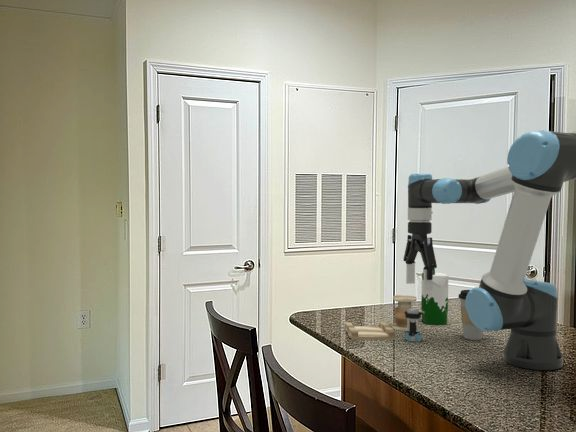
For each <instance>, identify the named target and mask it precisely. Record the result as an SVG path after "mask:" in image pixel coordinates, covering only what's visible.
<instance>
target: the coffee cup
mask: <svg viewBox="0 0 576 432" xmlns="http://www.w3.org/2000/svg"><path fill="white" fill-rule="evenodd" d="M470 290H471V289H462V290H461V291H460V293H459V294H458V297H457V298H459V299H460V300H459V301H460V315H461V316H460V317H461V323H462V334H463V338H464V339H467V340H472V341H480V340H483V335H484V331H483V330H481V329H479V328H477V327H476V326H475V325H474V324H473V323H472V321H471V320H470V318H469V315H468V313H467V310H466V296H467V294H468V292H469V291H470Z"/></svg>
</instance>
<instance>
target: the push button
mask: <svg viewBox="0 0 576 432" xmlns="http://www.w3.org/2000/svg"><path fill="white" fill-rule="evenodd" d="M405 317H406V318H407V330H406V331H404V340H405V342H418V343H419V342H420V343H421V341H423V340H424V341H426V339H427V338H426V337H427V336H426V335H421V331H420V328H419V326H420V319H422V312H421V311H420V309H419V308H415V307H411V308H409V309H407V311H405ZM409 319H410V329H409ZM416 325H417V330H416Z"/></svg>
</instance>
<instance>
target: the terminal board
mask: <svg viewBox="0 0 576 432" xmlns="http://www.w3.org/2000/svg"><path fill="white" fill-rule="evenodd" d="M344 330H345V332H346V333H347V335H348V336H349V338H350V339H351V340H352V341H396V337H397V336H396V330H395V329H393V328H391V325H389V324H388V323H387V322H386V321H379V322H378V325H375V326H374V325H371V326H370V325H369V326H368V325H364V326H363V325H361V326H360V325H359V326H356V325H355V326H354V325H353V323H352V322H351V321H345V322H344Z"/></svg>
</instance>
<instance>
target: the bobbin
mask: <svg viewBox="0 0 576 432" xmlns="http://www.w3.org/2000/svg"><path fill="white" fill-rule="evenodd" d="M392 300H393V301H395V302H397V306H396V307H395V308H394V323H391V325H390V327H391V328H392V329H393V330H394V331H400V332H401V331H402V332H405V331H406V330H407V318H406V317H405V311H407V309H409V308H412V303H414V302H416V301H417V297H416V296H415V295H409V294H395V295H393V296H392ZM409 329H410V319H409ZM416 331H417V324H416Z"/></svg>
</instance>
